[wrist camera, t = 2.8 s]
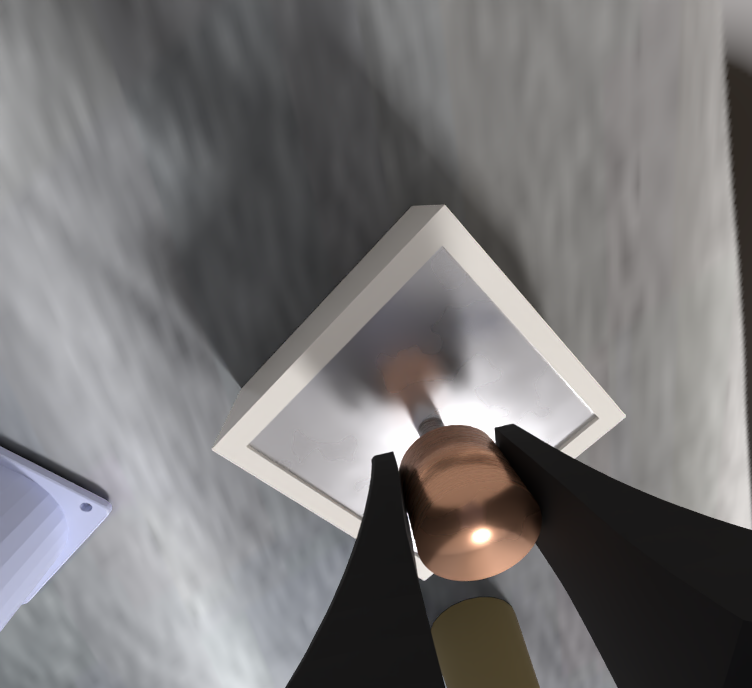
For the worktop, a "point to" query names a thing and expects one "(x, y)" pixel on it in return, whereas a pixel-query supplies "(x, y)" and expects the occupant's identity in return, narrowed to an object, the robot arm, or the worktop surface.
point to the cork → (482, 646)
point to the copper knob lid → (432, 421)
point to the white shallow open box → (347, 317)
